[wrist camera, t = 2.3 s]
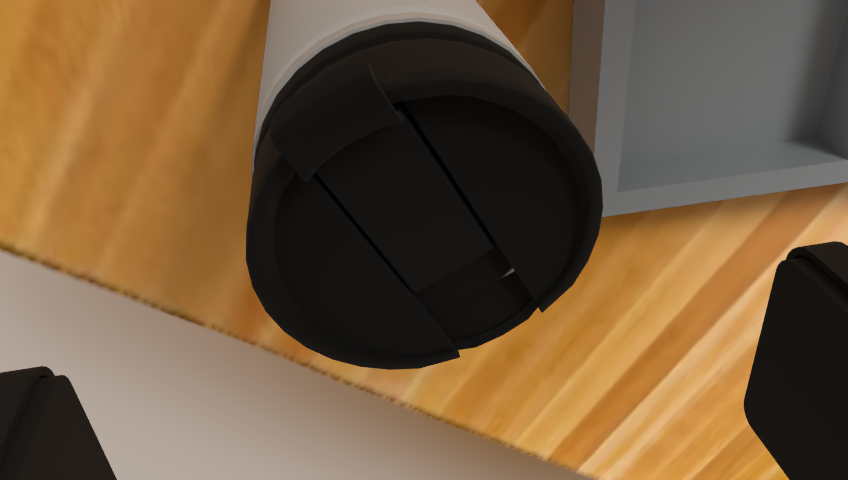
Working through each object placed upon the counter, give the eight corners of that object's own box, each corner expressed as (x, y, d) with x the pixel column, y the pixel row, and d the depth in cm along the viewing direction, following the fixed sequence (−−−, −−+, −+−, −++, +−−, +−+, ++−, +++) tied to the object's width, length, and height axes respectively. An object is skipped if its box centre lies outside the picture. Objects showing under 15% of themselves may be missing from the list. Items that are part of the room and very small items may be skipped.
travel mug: (373, -150, 26) (515, -29, 9) (459, 5, 29) (673, 298, 13) (235, -54, 27) (133, 214, 10) (333, 85, 30) (378, 453, 14)
